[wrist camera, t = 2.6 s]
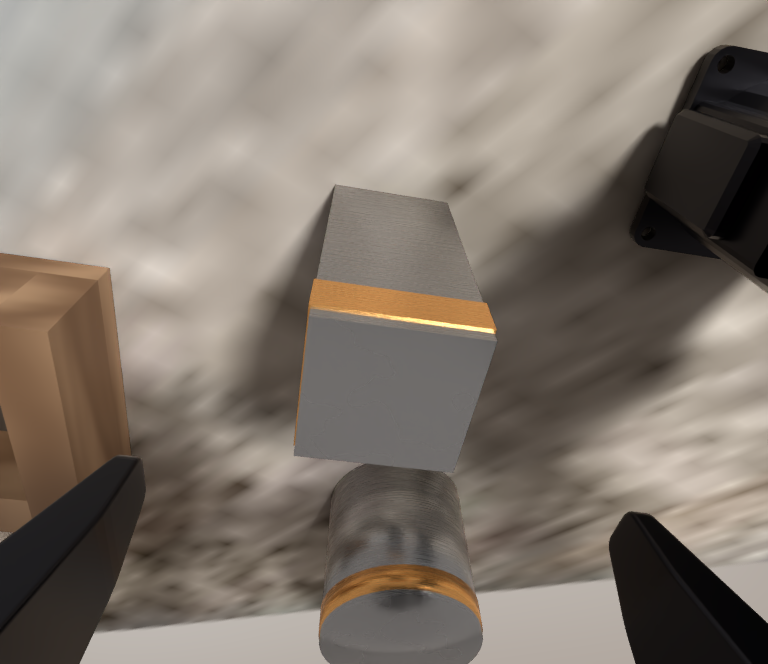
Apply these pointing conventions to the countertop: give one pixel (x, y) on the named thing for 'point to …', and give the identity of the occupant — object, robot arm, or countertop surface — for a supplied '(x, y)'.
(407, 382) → the square bit
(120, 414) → the block
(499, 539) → the countertop surface
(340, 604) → the cylinder
